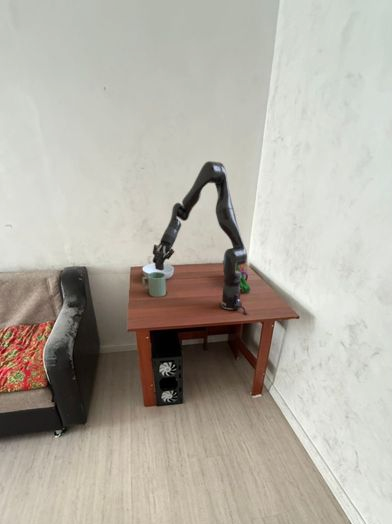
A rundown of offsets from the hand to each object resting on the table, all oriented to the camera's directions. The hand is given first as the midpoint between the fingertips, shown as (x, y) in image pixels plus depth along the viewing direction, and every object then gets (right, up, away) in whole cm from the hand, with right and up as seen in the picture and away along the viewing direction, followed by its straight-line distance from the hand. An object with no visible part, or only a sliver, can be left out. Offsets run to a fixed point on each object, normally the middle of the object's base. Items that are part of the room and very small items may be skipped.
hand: (157, 263), depth 168 cm
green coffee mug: (-3, -15, +12) cm, 19 cm away
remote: (+1, -2, +4) cm, 5 cm away
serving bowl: (-3, -1, +30) cm, 30 cm away
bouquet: (+51, -7, +25) cm, 57 cm away
